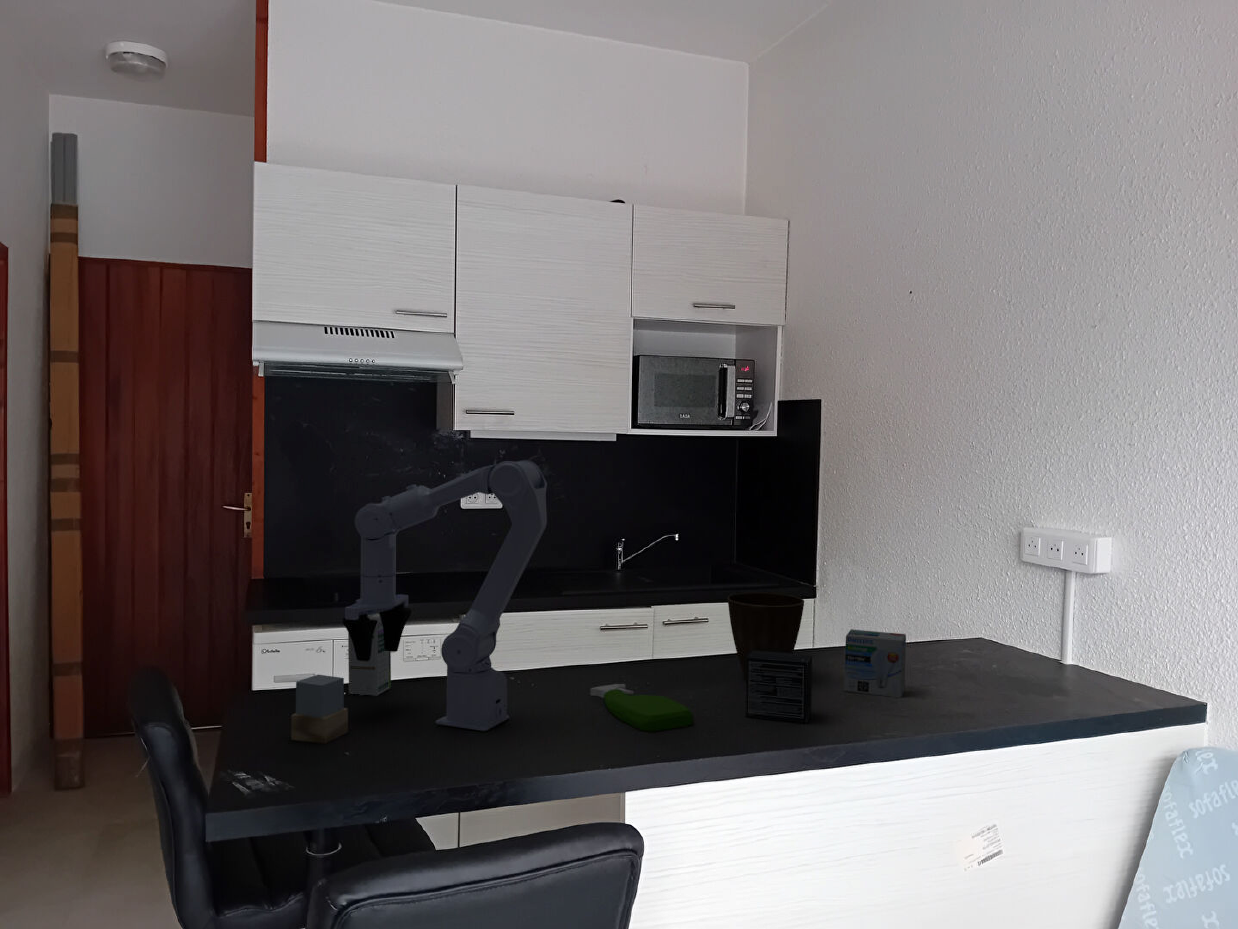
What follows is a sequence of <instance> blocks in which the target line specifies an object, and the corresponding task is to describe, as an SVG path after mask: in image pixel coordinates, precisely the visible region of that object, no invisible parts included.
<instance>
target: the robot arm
mask: <svg viewBox="0 0 1238 929" xmlns="http://www.w3.org/2000/svg"><path fill="white" fill-rule="evenodd" d="M547 487H548V483H547V481H546V478H545V476H544V475H543V472H542V471H541V468H540V467H539V466H538V465H537V464H536V463H534V462H533V461H531V460H524V459H523V460H518V461H511V460H510V461H509V460H506V461H501V462H499V463H497V464H491V465H488V466H482V467H479V468H477V469H475V470H472V471H469V472H467V473H466V474H462V475H460V476H459V477H456V478H454V479H452V480H450V481H447V482H446V483H443V484H441V485H439V486H436V487H434V488H429V487H427V486H425V485H423V484H422V485H418V486H417V484H411V485H408V486H406V487H405V489H406V491H404V492H401V493H398V494H396V495H394V496H392V497H390V495H388V496H387V495H386V496H384V497H382V498H381V503H372V502H371V503H366V505H365V506H363V507H361V508H360V509H358V511H357V513H356V514H355V517H354V526H355V529H356V532H358V534H359V535H360V598H359V599H356V600H355V603H354V604H351V605H349V606H346V607H344V608H345V609H344V614H345V615H344V617H343V618H342V624H343V626H344V627H345V629H346V631H347V634H348V633H349V635H350V637H351V639H352V642H353V646H354V650H355V654H356V657H357V660H359V661H369V660H370V656H371V647H372V638H373V634H374V630H375V627H376V624H377V622H378V621H377V620H369V618H367V617H368V615H372V614H375V613H379V615H380V618H381V621H382V625H383V632H384V646H385V651H391V653H392V652H395V653H396V652H398V651H399V647H400V643H401V640H402V635H403V632H404V629H405V627H406V624H407V622H408V620H409V618H410V617H411V615H412V609H411V608H407V607H408V606H409V595H408V594H401V593H400V594H396V585H397V584H396V582H397V577H396V576H397V573H396V572H397V570H396V569H397V563H396V562H397V534H398V533H399V532H400V531H403V530H404V529H405V530H406V529H408V528H410V527H412V526H413V527H414V526H415V525H418V524H420V523H423V522H425V521H429V520H431V519H433V518H435V516H436V515H437V513H438V511H439V508H440V507H442V506H444V505H447V504H448V505H449V504H450V503H453V502H456V501H459V500H461V499H465V498H467V497H470V496H473V495H475V494H477V493H480V494H484V495H494V497H495V498H496V499H497V500H498V501H499V503H501V505H502V506H503V507H504V508H505V509H506V512H507V514H508V517H509V518H510V522H511V527H510V528H509V530H508V532H507V535H506V537H505V539H504V541H503V543H502V545H501V547H500V549H499V551H498V553H497V555H496V557H495V559H494V561H493V562H492V565H491V567H490V569H489V571H488V573H487V575H486V577H485V578H484V580H483V583H482V584H481V586H480V588H479V591H478V592H477V595H476V597H475V599H474V601H473V603H472V605H471V607H470V609H469V610H468V611H467V612H466V614H465V615H464V616H463V618H462V619H461V620H460V621H459V623H458V625H457V626H456V628H455V630H454V631H453V632H451V633H450V634H449V635H447V636H446V637H445V638H444V640H443V642H442V645H441V650H440V651H441V652H440V654H441V657H442V660H443V662H444V663H445V665H446V715H444V716H443V717H441V718H438V719H437V720H435V724H436V725H441V726H448V727H454V728H462V729H469V730H475V731H481V732H485V731H489V730H490V729H492V728H494V727H496V726H497V725H499V724H501V723H503V722H504V721H505V722H506V721H507V720H508V719H509V718H510V716H509V715H508V680H507V677H506V674H505V673H504V672H503V671H499V670H496V669H494V668H493V667H492V661H491V657H490V656H491V655H492V654H493V652H494V651H495V649H496V647H497V635H498V634H497V633H498V632H499V629H500V628H501V620H500V619H501V616H502V614H503V613H504V611H505V609H506V607H507V604H508V603H509V601H510V599H511V597H512V595H513V593H514V591H515V589H516V587H517V586H518V583H519V581H520V579H521V577H522V575H523V573H524V571H525V569H526V567H527V566H528V563H529V561H530V560H531V557H532V555H533V553H534V551H535V549H536V547H537V545H538V543H539V541H540V540H541V538H542V535H543V533H544V532H545V530H546V526H547V525H548V516H547V497H546V494H547V489H548V488H547Z"/></svg>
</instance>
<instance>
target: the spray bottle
mask: <svg viewBox="0 0 1238 929" xmlns="http://www.w3.org/2000/svg"><path fill="white" fill-rule="evenodd" d="M626 688H627V686H626V684H624V683H621V684H619V683H615V684H609V685H608V684H607V685H600V686H597V687H596V686H595V687H590V697H591V696H593V697H601V698H603V701H604V703H605V706H606V708H607V709H608V711H609V712H610V714H612V715H614V717H616V719H618V720H620V721H622V722H623V723H625V724H627V725H629V726H630V727H631V726H632V727H633V728H636V730H637V729H638V730H640V731H643V732H646V733H653V732H660V731H666V730H667V731H669V730H672V729H679V728H686V727H690V726H691V725H692V724H693V721H694V714H693V712H691V710H690V709H689V708H688V706H685V705H683V704H682V703H679V702H678V701H676V700H674V699H671V698H670V697H666V696H661V695H648V694H647V695H646V694H637V695H634V691H632V690H629V689H626ZM629 694H630V695H629Z"/></svg>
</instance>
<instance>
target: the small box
mask: <svg viewBox="0 0 1238 929" xmlns="http://www.w3.org/2000/svg"><path fill="white" fill-rule="evenodd" d="M746 662H747V677H746V679H745V680H746V684H745V686H746V689H745V690H746V691H745V693H746V694H745V701H746V702H745V718H748V719H758V720H766V721H767V720H768V721H776V722H777V721H778V722H786V723H787V722H788V723H795V724H805V725H806V724H808V722H809V721H810V718H811V717H812V693H813V691H812V684H813V683H812V682H813V681H812V680H813V677H812V675H813V674H812V673H813V655H812V654H802V653H793V654H792V653H780V652H767V651H752V652H751V653H750V654H749V655H748V656H747V657H746Z"/></svg>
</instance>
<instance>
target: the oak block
mask: <svg viewBox="0 0 1238 929" xmlns="http://www.w3.org/2000/svg"><path fill="white" fill-rule="evenodd" d="M290 722H291V723H290V724H291V725H290V726H291V731H290V732H291V733H290V734H291V738H290V740H291V741H292V740H293V741H299V742H300V741H301V742H308V743H314V742H317V743H316V744H324V745H325V744H327V742H328V743H329V742H330V743H331V741H333V740H335V739H337V738H339V737H341V736H343V735H345V734H347V733H348V732H349V730H348V729H349V725H348V724H349V708H348V707H344V710H341V711H339V712H336V713H334V714H331V715H329V716H326V717H324V718H318V717H311V716H305V715H298V714H296V712H295V713H293V714H291V721H290Z"/></svg>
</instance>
